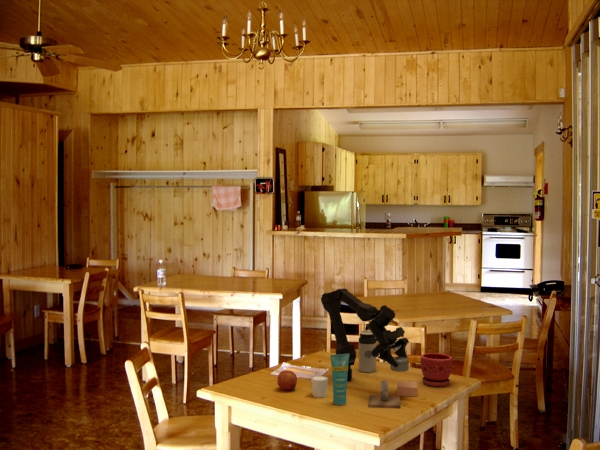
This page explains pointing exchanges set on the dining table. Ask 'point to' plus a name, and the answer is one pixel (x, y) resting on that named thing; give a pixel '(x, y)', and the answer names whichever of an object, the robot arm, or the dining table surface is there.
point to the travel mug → (366, 352)
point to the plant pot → (436, 369)
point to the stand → (406, 388)
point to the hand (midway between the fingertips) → (402, 364)
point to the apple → (287, 380)
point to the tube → (339, 377)
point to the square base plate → (384, 398)
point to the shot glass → (319, 386)
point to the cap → (400, 364)
